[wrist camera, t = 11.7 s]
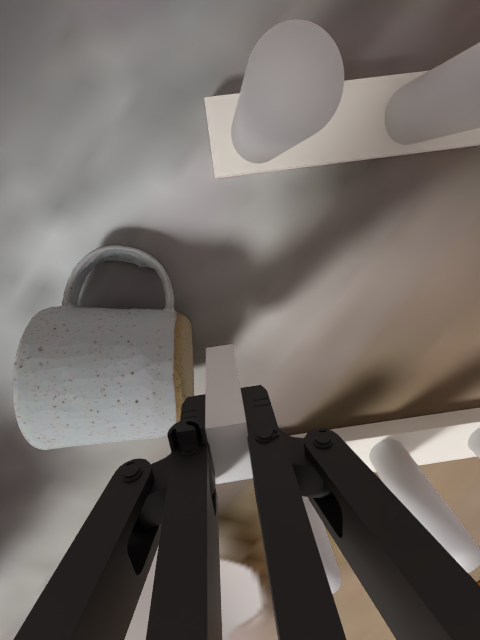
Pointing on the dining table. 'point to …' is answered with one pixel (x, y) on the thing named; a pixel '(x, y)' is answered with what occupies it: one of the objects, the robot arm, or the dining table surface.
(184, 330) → the ceramic mug
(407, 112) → the rack
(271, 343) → the dining table surface
